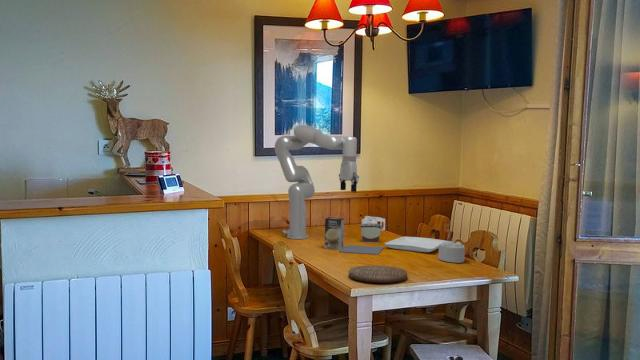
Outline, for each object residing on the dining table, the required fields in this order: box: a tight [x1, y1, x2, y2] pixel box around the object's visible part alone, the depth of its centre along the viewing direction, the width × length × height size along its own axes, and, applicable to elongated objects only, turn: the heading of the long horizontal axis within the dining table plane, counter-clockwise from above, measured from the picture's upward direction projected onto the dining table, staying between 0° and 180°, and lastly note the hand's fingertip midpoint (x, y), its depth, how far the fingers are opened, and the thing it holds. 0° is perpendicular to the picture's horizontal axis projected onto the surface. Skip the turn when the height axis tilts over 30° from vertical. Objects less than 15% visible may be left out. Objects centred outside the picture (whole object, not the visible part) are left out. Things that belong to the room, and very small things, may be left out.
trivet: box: [348, 264, 408, 284], centre depth 266 cm, size 25×25×2 cm
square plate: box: [384, 236, 449, 254], centre depth 333 cm, size 27×27×4 cm
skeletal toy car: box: [361, 215, 386, 231], centre depth 397 cm, size 20×11×7 cm, turn 19°
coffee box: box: [324, 216, 345, 251], centre depth 326 cm, size 9×6×16 cm
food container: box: [359, 223, 383, 244], centre depth 349 cm, size 12×6×10 cm, turn 84°
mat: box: [338, 244, 385, 256], centre depth 323 cm, size 20×20×1 cm
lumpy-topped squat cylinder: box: [438, 240, 466, 264], centre depth 301 cm, size 10×13×9 cm
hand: (348, 190), depth 338 cm, fingers open, 9 cm apart
